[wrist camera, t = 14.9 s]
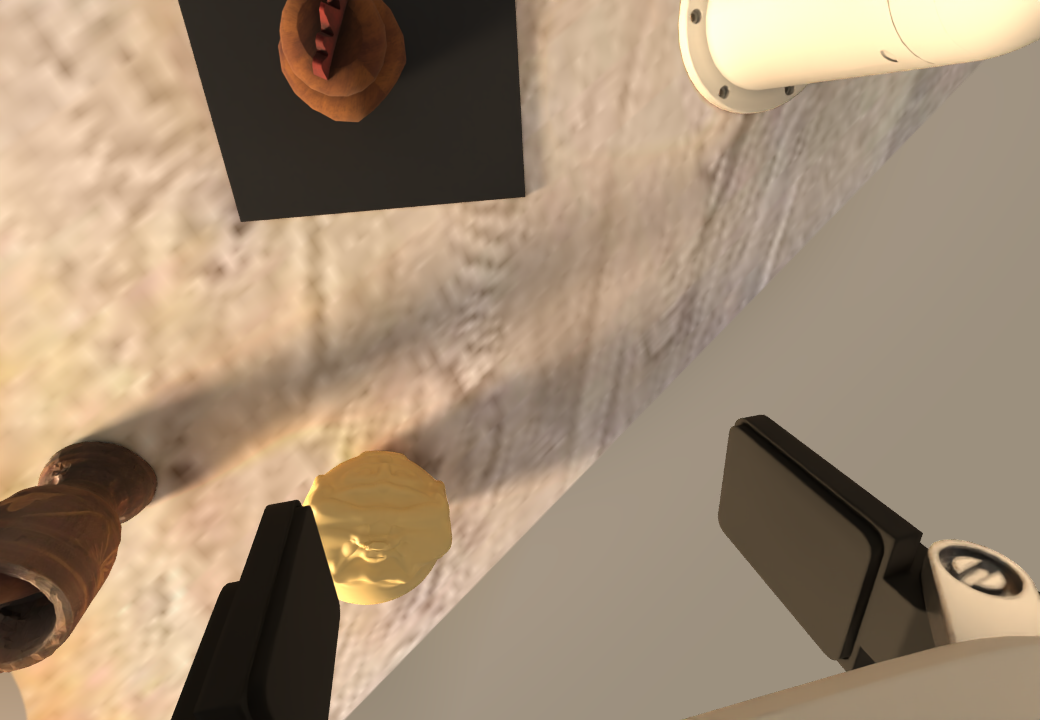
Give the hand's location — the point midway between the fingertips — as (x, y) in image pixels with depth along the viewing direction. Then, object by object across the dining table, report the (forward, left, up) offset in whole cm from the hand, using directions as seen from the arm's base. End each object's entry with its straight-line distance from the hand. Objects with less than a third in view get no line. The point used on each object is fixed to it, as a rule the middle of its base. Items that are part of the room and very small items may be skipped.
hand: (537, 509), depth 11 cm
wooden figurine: (+4, -12, -30) cm, 33 cm away
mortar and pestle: (+29, +14, -31) cm, 44 cm away
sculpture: (+8, +21, -31) cm, 38 cm away
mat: (+3, -12, -30) cm, 33 cm away
